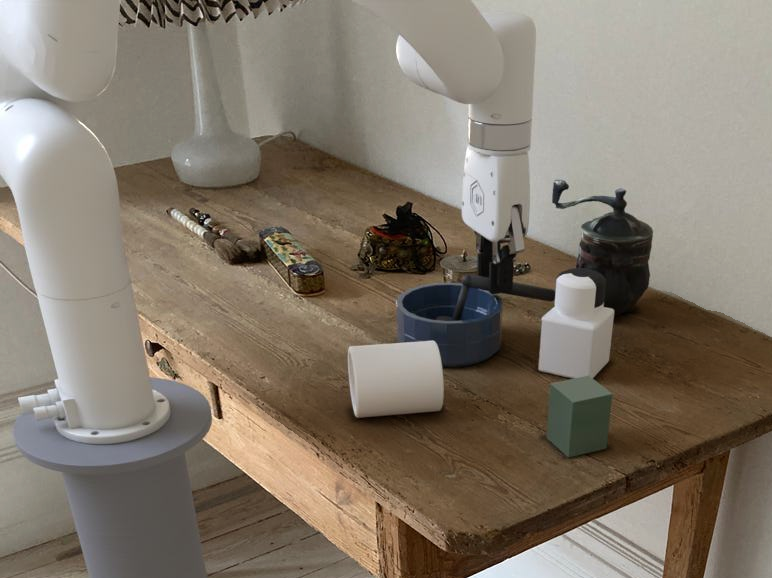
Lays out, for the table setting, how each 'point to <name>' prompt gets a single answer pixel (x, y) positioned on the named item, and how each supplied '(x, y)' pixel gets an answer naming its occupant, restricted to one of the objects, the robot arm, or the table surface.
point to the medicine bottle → (576, 326)
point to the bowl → (451, 322)
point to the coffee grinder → (614, 249)
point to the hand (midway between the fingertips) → (494, 286)
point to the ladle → (517, 290)
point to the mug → (395, 378)
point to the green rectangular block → (578, 416)
